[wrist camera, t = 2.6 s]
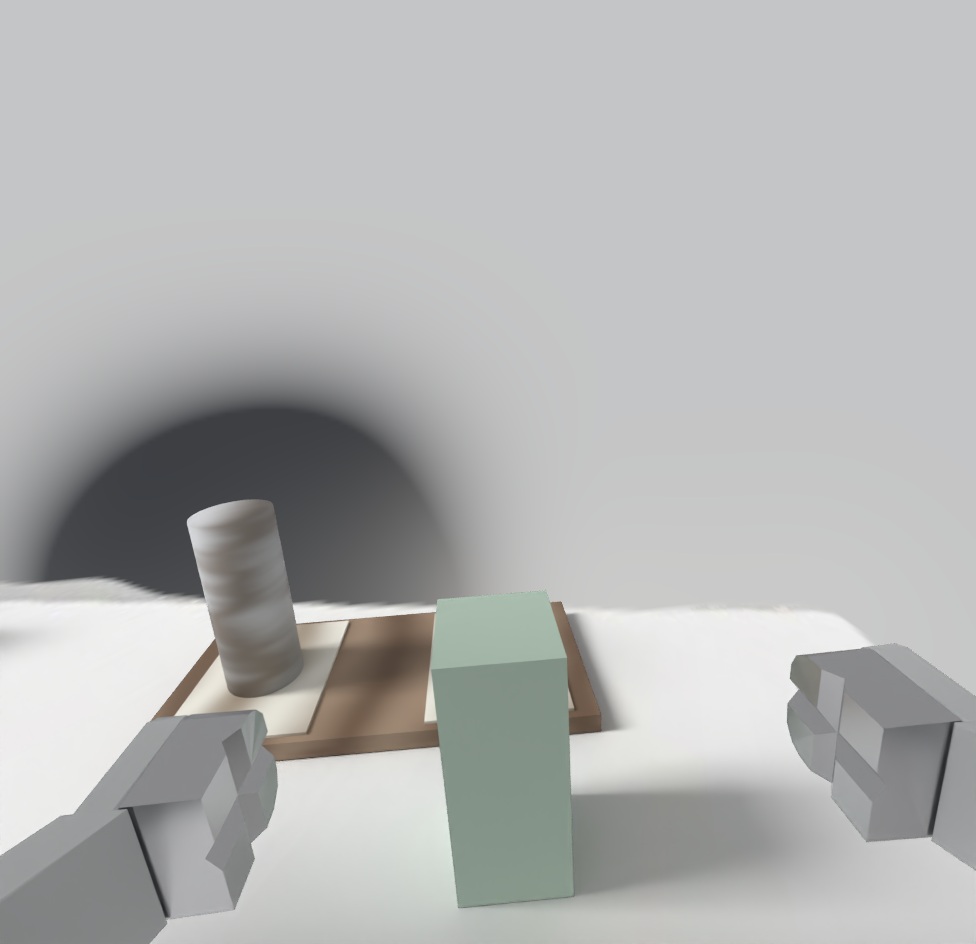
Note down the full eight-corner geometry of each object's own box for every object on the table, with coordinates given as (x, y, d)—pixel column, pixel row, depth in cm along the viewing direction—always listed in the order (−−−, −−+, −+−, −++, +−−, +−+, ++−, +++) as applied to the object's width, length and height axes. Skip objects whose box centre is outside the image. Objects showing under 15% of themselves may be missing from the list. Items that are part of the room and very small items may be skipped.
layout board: (127, 774, 30) (59, 566, 27) (224, 642, 43) (187, 488, 39) (601, 731, 31) (599, 523, 27) (561, 614, 44) (556, 460, 40)
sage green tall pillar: (458, 907, 22) (431, 669, 19) (459, 804, 27) (437, 599, 24) (573, 896, 22) (566, 657, 19) (554, 795, 27) (546, 590, 24)
